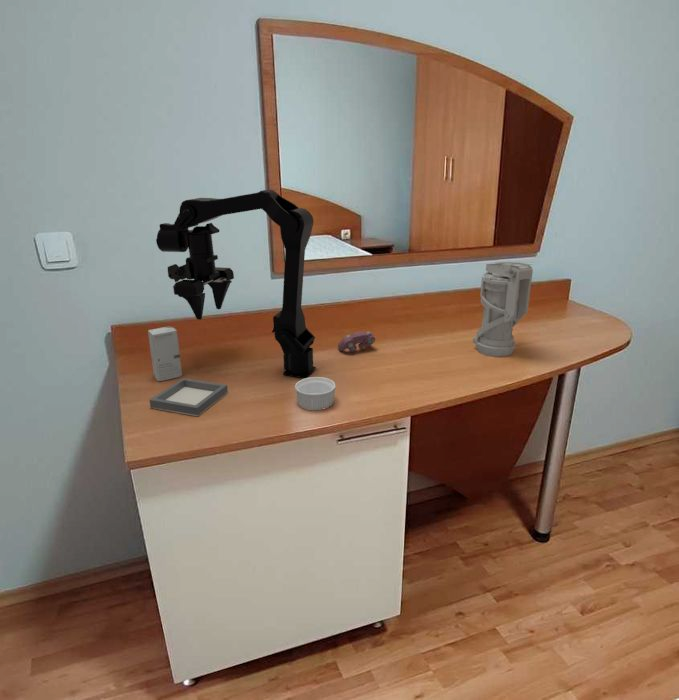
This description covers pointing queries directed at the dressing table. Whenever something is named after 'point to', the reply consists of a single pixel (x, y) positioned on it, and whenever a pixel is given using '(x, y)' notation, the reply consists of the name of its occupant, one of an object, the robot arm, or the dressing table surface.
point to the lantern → (502, 306)
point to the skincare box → (165, 353)
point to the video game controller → (356, 341)
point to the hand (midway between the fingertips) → (209, 314)
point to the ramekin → (315, 392)
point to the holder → (189, 396)
